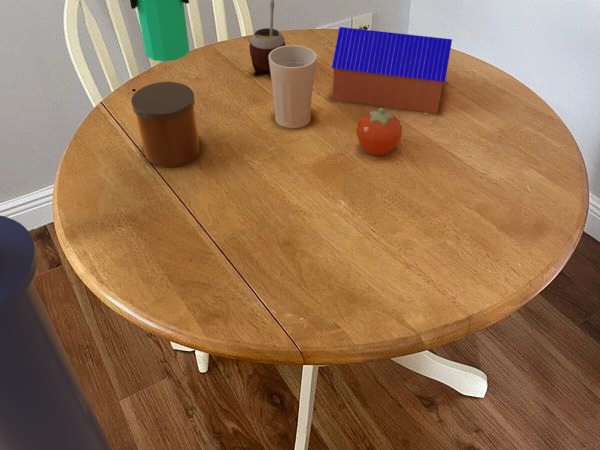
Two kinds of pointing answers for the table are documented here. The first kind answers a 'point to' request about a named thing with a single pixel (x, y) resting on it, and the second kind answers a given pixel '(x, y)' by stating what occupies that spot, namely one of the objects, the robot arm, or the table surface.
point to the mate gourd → (264, 46)
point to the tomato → (379, 132)
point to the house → (390, 69)
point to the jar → (167, 123)
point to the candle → (163, 29)
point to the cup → (292, 84)
